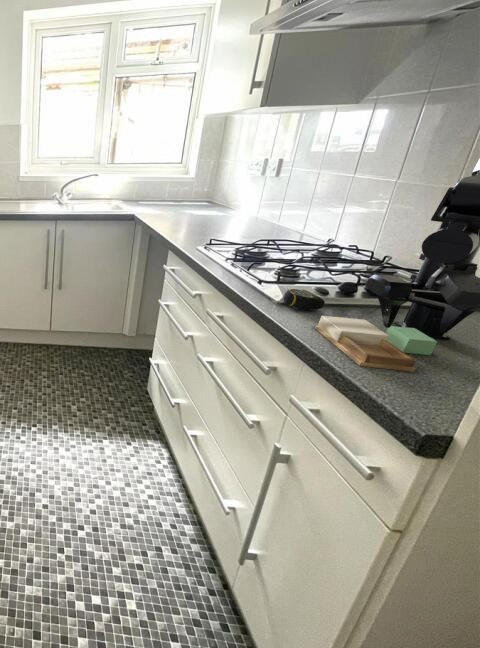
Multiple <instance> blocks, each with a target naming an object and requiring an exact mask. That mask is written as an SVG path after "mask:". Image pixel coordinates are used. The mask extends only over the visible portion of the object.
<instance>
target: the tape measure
mask: <svg viewBox="0 0 480 648" xmlns="http://www.w3.org/2000/svg"><path fill="white" fill-rule="evenodd" d="M282 300H283V303H284V304H286V305H287V306H290V307H292V308H294V309H295V310H296V309H299V310H305V311H311V310H321V309H322V308H324V306H325V303H326V302H325V300H324V298H322V297H321V296H318V295H317V294H315V293H313V292H311V291H309V290H307V289H298V288H289V289H287V290H286V292H284V295H283V296H282Z"/></svg>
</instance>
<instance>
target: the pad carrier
mask: <svg viewBox="0 0 480 648" xmlns="http://www.w3.org/2000/svg"><path fill="white" fill-rule="evenodd" d="M315 330H317V332H319V333H320V334H321V335H322V336H324V337H325V338H326V339H327V340H328V341H330V342H331V343H332V344H333V345H334V346H335V347H337V348H338V349H339V350H340V351H342V352H343V353H344V354H345V355H346V356H348V358H349V359H350V360H351V361H353V362H355V363H356V364H357V365H358V366H359V367H367V368H376V369H386V370H394V371H404V372H413V373H414V372H415V371H416V367H415V366H414V365H415V363H416V361H417V360H416V359H414V358H413V357H412V356H410V355H409V354H408V353H404V352H403V351H401V350H400V349H398V348H397V347H395V346H394V345H392V344H391V343H390V342H388V341H387V339H388V337H389V335H387V334H386V332H384V331H383V330H382V329H380V328H378V327H377V326H375V325H374V324H372V323H371V322H369V321H368V320H366V319H363V318H352V317H341V316H329V315H321V316H320V319H319V322H318V324H316V325H315Z"/></svg>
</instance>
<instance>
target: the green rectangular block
mask: <svg viewBox="0 0 480 648" xmlns="http://www.w3.org/2000/svg"><path fill="white" fill-rule="evenodd" d="M385 333H386V334H387V335H389V337H388V339H387V341H388V342H390V343H391V344H392V345H394V346H395V347H397V348H398V349H400V350H401V351H403V352H404V353H406V354H413V355H423V356H432V353H433V351H434V350H435V348H436V346H437V344H438V341H437V340H435V339H434V338H432V337H429V336H427V335H425V334H424V333H422V332H420V331H419V330H417V329H415V328H407V327H399V326H397V325H395V326H394V325H391V327H390V328H386V331H385Z"/></svg>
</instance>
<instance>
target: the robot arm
mask: <svg viewBox="0 0 480 648" xmlns="http://www.w3.org/2000/svg"><path fill="white" fill-rule="evenodd" d="M430 221H431V222H437V223H441V225H439V227H438V229H436V231H434V232H432V233H431V234H429V235H427V237H425V239H424V240H423V241H422V243H421V252H422V253H420V256H419V257H418V260H421V261H422V264H421V266H420V268H419V270H418V272H417V273H411V276H410V278H409V279H410V280H412V281H407V280H404V279H403V278H400V277H399V276H396V275H390V274H388V275H387V274H375V273H374V274H373V275H371V276H370V277H369V278H368V279H367V281H366V283H365V286H364V287H365V288H367V289H369V290H370V291H371V292H372V293H374V294H375V295H376V296H377V299H378V304H379V306H380V310H381V317H382V321H383V322H382V323H383V326H384V327H385V328H386V329H388V328H390V327H391V326H393V324H394V325H395V326H396V327H407V328H415V329H417V330H419V331H420V332H422V333H424V334H425V335H427V336H429V337H430V338H432V339H434V338H435V339H441V340H442V339H445V340H450V339H451V336H450V335H448V334H447V333H448V332H450V331H451V330H452V329H453V328H454V327H456V326H457V325H458V324H460V323H461V322H462V321H463V320H465V319H466V318H467V317H469V316H471V315H472V314H473V313H475V312H479V311H480V277H478V276H477V275H476V273H477V270H478V263H475V262H473V261H474V260H475V257H476V256H477V254H478V252H479V250H480V158H478V160H477V163H476V164H475V166H474V168H473V170H472V172H471V176H466V177H463V178H461V179H459V181H458V182H456V184H455V185H454V186H449V188H448V189H447V190H446V192H445V193H444V196H443V197H442V199H441V201H440V203H439V204H438V206H437V208H436V209H435V211H434V213H433V214H432V216H431V219H430ZM406 303H411V304H410V306H409V308H408V311H407V313H406V315H405V317H404V319H403V321H397V320H395V319H396V318H397V315H398V313H399V310H400V309H401V307H402V306H403V305H404V304H406Z"/></svg>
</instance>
